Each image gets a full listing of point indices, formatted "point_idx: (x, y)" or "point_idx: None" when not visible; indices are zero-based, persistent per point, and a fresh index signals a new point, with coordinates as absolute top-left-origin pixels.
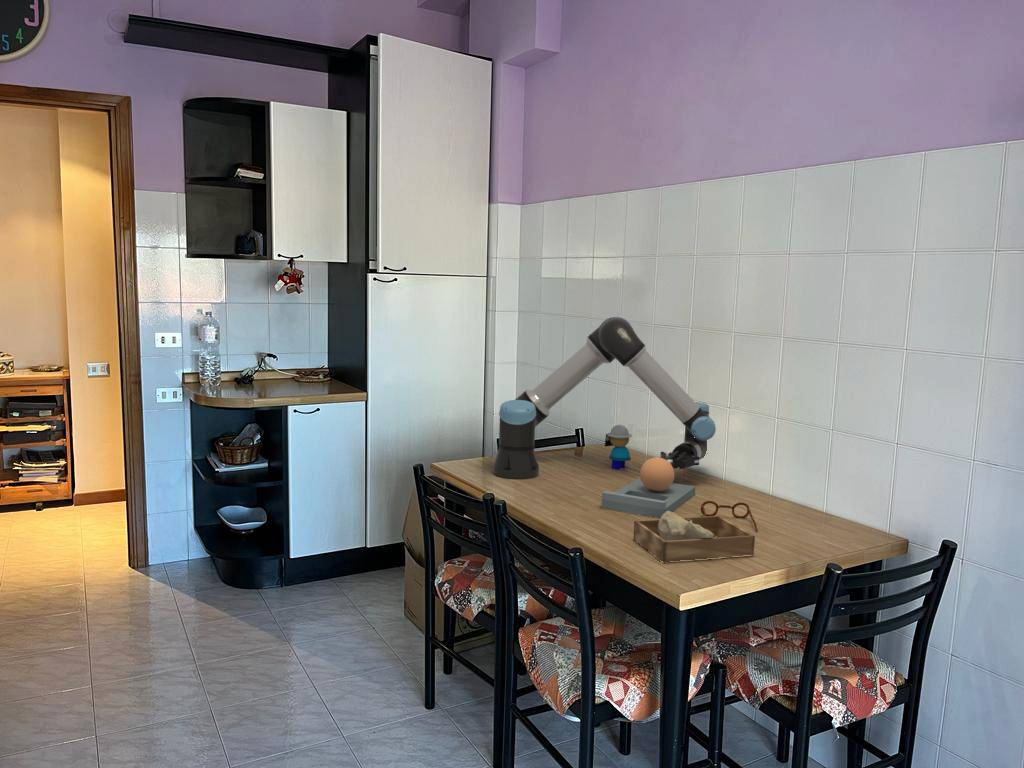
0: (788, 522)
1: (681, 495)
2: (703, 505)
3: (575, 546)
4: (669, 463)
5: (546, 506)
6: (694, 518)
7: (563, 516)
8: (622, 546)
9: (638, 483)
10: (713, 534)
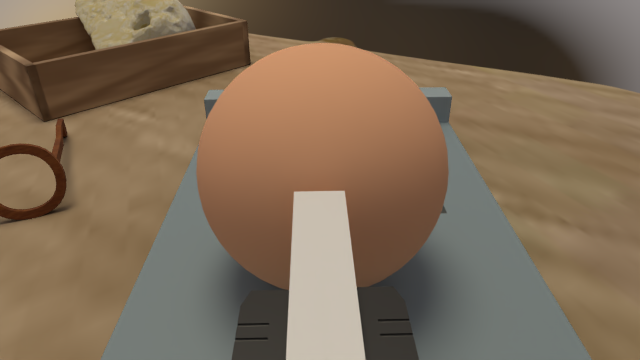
0: None
1: (156, 258)
2: (49, 159)
3: (331, 37)
4: (229, 90)
5: (563, 104)
6: (106, 48)
7: (461, 85)
8: (259, 50)
9: (523, 350)
10: (75, 2)
